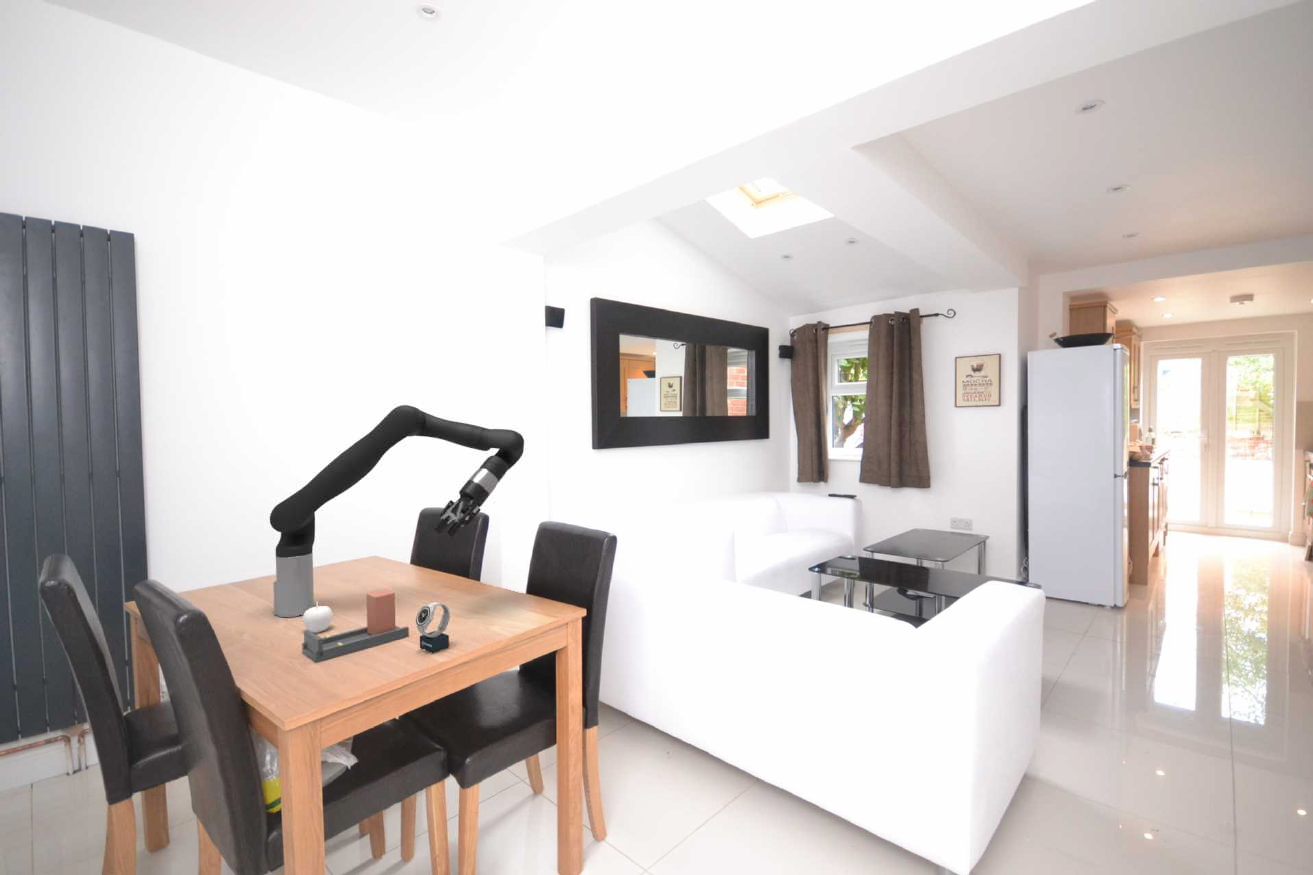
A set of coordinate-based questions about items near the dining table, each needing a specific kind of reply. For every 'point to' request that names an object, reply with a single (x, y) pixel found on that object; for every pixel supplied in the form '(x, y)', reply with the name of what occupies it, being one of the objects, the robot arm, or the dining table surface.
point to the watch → (436, 638)
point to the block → (380, 612)
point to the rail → (346, 642)
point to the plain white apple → (317, 618)
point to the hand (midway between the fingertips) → (442, 533)
